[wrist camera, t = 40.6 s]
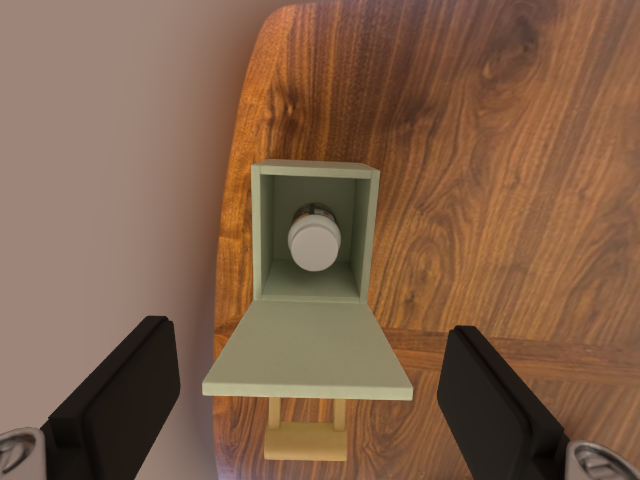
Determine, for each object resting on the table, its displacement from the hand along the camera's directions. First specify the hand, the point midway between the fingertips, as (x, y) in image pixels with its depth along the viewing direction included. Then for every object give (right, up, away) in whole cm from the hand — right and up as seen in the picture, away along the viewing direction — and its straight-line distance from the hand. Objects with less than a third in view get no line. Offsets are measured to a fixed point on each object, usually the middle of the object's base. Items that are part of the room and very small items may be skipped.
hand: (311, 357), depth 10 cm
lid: (-1, -3, +14) cm, 14 cm away
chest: (-1, +7, +29) cm, 30 cm away
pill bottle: (0, +6, +29) cm, 30 cm away
